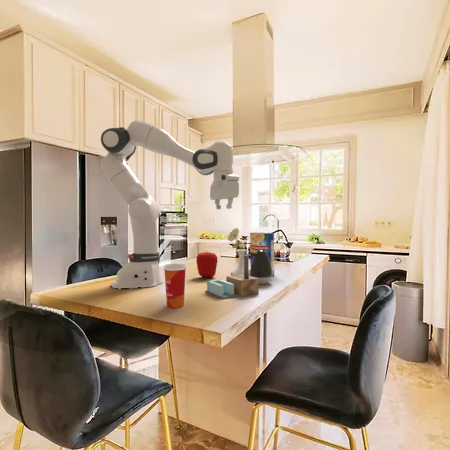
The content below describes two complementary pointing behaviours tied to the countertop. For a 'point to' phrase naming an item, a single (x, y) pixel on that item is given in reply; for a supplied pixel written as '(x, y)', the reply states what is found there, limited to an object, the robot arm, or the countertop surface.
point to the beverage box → (262, 246)
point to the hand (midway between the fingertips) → (223, 209)
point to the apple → (206, 264)
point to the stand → (244, 281)
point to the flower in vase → (240, 267)
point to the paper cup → (175, 284)
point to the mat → (224, 295)
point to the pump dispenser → (261, 267)
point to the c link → (220, 287)
